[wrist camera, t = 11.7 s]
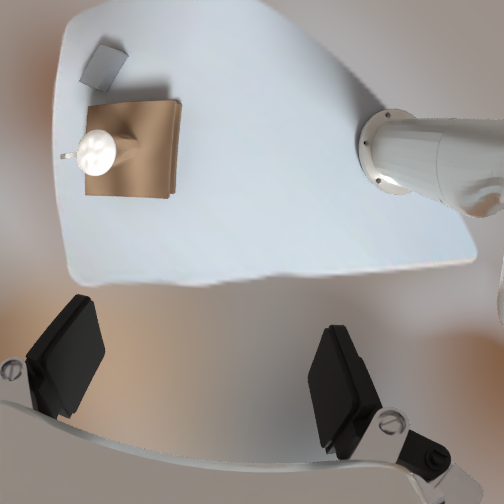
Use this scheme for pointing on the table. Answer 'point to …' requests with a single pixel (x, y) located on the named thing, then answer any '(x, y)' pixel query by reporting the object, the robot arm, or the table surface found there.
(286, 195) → the table surface
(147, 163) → the stand
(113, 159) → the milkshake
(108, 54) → the block
